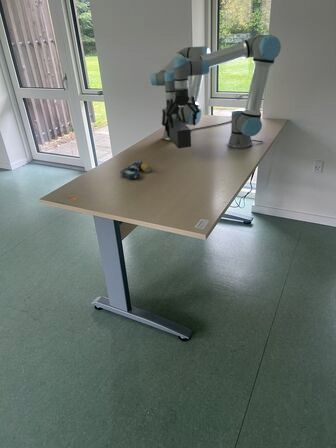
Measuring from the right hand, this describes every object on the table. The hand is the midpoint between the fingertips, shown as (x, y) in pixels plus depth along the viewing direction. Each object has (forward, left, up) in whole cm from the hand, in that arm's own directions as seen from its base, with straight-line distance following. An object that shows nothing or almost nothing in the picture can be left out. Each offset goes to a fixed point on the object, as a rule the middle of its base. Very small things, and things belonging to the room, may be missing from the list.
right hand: (183, 126), depth 198 cm
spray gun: (+33, 0, -21) cm, 39 cm away
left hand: (-4, -19, -10) cm, 22 cm away
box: (-2, -10, -12) cm, 15 cm away
